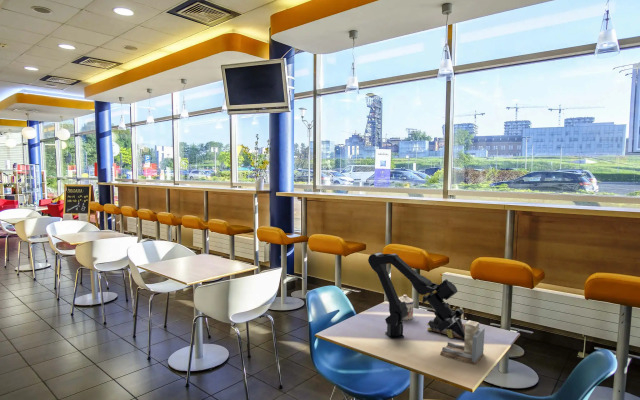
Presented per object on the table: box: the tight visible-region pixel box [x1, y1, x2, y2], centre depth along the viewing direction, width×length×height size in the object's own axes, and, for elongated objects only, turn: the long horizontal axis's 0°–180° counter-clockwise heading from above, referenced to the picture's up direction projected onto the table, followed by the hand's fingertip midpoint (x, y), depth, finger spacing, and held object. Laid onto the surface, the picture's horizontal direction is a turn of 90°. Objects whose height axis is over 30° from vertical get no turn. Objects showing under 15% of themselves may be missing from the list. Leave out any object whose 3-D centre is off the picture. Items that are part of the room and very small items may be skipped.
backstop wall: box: [472, 327, 485, 362], centre depth 160 cm, size 2×12×10 cm, turn 144°
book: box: [426, 323, 481, 340], centre depth 189 cm, size 16×25×5 cm, turn 52°
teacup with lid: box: [398, 294, 414, 321], centre depth 207 cm, size 12×9×12 cm
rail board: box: [439, 341, 484, 365], centre depth 164 cm, size 14×12×2 cm
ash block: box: [463, 319, 480, 355], centre depth 162 cm, size 4×5×13 cm
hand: (464, 337), depth 163 cm, fingers closed
